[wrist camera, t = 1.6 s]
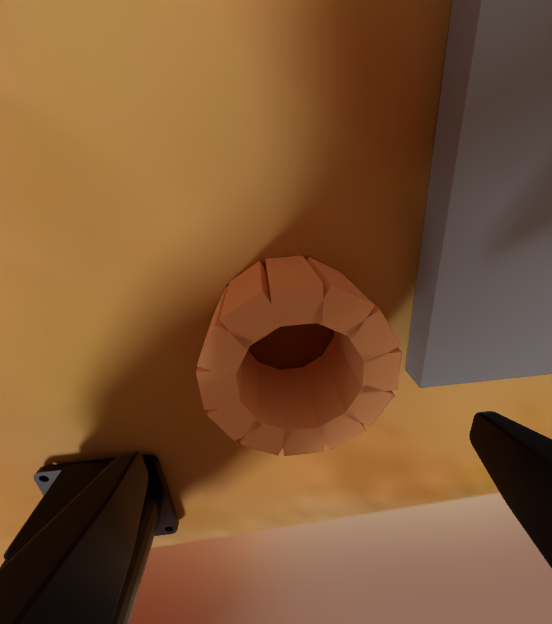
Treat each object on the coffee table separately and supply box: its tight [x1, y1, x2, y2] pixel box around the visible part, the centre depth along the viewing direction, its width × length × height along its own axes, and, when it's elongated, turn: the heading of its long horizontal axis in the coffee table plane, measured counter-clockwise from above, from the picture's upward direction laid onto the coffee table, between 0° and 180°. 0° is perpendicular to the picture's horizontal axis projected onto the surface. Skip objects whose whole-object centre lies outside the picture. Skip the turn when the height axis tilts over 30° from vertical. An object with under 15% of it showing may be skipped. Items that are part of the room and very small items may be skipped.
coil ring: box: [196, 255, 402, 456], centre depth 12 cm, size 7×7×4 cm
